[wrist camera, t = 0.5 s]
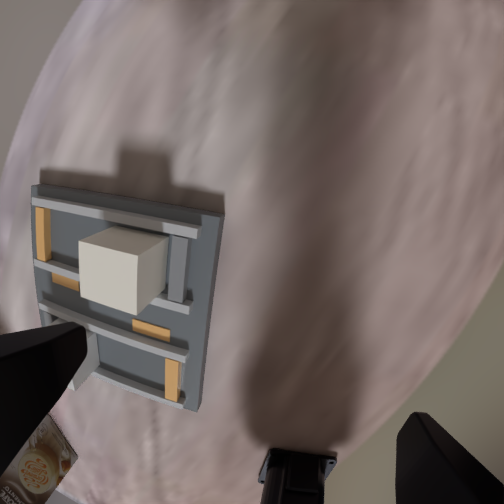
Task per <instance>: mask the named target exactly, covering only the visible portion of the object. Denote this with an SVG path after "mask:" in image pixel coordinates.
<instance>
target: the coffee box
mask: <svg viewBox="0 0 504 504" xmlns="http://www.w3.org/2000/svg"><path fill="white" fill-rule="evenodd" d="M77 459H78V457H77V455H76V454H75V453H74V451H73V450H72V448H71V447H70V446H69V444H68V443H67V441H66V440H65V438H64V437H63V436H62V434H61V433H60V431H59V430H58V428H57V427H56V425H55V423H54V422H53V420H52V419H51V417H50V416H49V415H46V417H45V418H44V419H43V420H42V422H41V423H40V424H39V426H38V427H37V428H36V430H35V431H34V432H33V434H32V435H31V436H30V438H29V439H28V440H27V442H26V443H25V444H24V446H23V447H22V448H21V450H20V451H19V452H18V454H17V455H16V457H15V458H14V459H13V461H12V462H11V463H10V465H9V466H8V468H7V469H6V471H5V472H4V473H3V475H2V476H1V478H0V504H45V502H46V501H47V500H48V498H49V497H50V496H51V494H52V493H53V491H54V490H55V489H56V487H57V486H58V485H59V483H60V482H61V481H62V479H63V478H64V477H65V475H66V474H67V473H68V471H69V470H70V468H71V467H72V466H73V464H74V463H75V462H76V460H77Z"/></svg>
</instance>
